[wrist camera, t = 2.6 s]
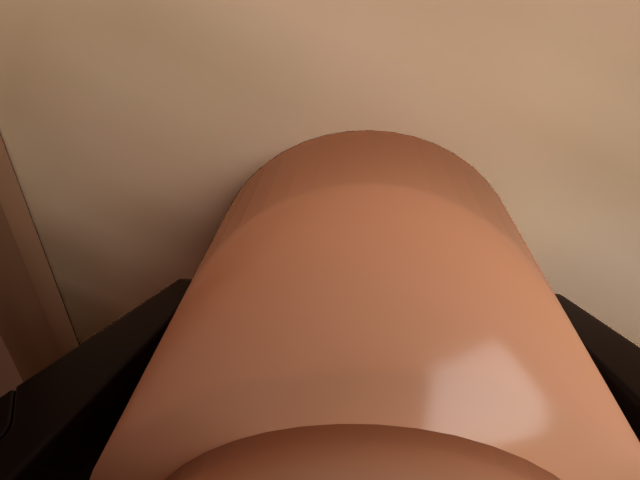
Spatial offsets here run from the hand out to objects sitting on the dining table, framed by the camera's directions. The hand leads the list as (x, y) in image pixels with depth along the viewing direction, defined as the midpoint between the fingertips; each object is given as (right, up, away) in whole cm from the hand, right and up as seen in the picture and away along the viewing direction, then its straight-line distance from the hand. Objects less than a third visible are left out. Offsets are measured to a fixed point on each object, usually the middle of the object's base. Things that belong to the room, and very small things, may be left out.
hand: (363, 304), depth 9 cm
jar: (0, +1, +1) cm, 1 cm away
